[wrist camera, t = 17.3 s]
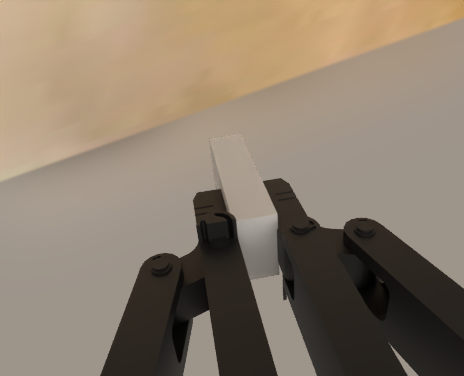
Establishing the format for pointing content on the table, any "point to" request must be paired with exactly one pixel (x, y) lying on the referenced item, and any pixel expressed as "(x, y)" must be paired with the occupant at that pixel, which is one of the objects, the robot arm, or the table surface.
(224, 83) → the table surface
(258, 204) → the robot arm
